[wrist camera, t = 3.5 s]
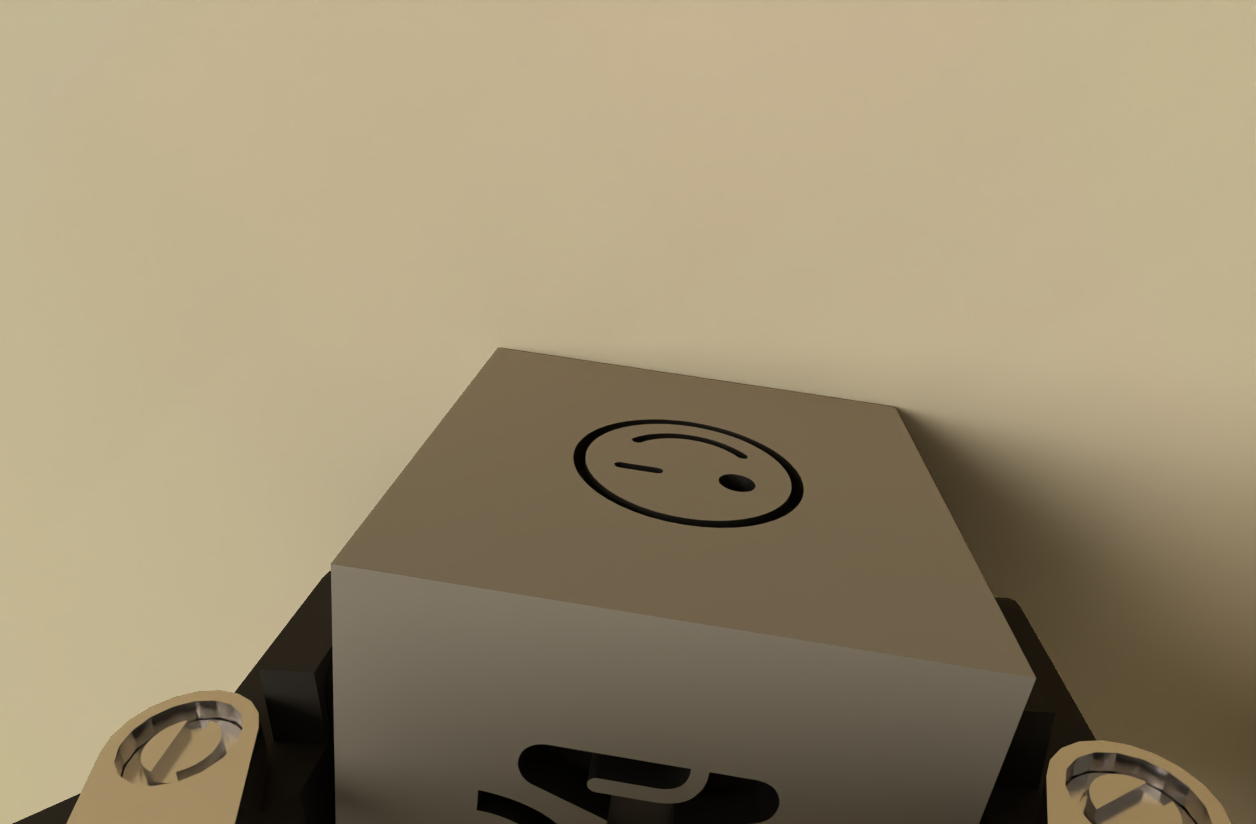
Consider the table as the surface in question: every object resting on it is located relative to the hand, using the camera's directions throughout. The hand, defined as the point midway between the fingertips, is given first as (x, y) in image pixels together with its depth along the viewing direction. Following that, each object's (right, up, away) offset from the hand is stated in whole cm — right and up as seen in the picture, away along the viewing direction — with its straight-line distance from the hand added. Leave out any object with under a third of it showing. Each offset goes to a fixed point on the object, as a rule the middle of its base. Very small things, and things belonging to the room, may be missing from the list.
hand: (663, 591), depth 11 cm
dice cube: (0, +1, +1) cm, 1 cm away
